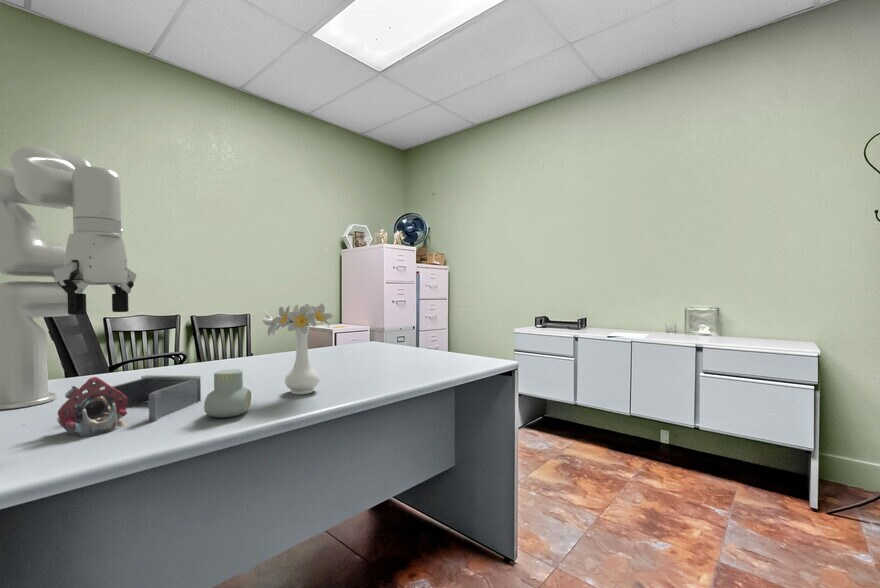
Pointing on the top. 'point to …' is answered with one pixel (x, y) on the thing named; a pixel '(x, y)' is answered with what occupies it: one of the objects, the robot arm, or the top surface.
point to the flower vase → (300, 343)
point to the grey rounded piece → (228, 395)
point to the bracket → (161, 393)
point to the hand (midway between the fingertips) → (100, 313)
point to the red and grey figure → (92, 409)
